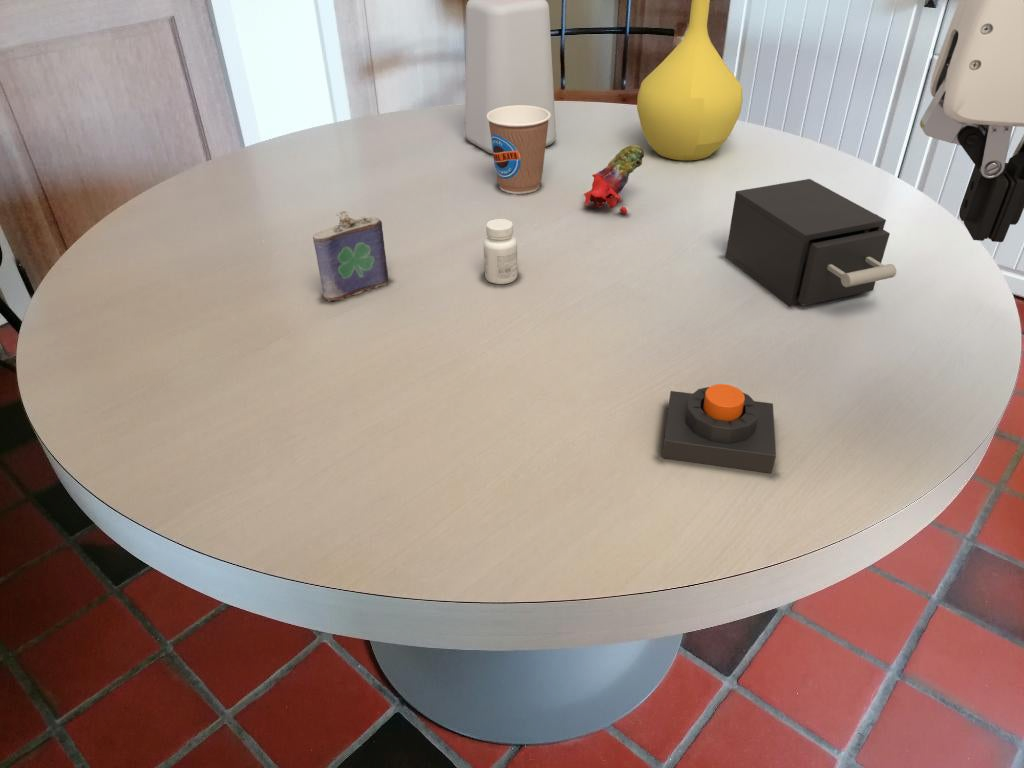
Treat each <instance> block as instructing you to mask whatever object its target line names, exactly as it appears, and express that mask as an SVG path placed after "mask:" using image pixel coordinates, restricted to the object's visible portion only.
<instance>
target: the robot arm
mask: <svg viewBox="0 0 1024 768" xmlns="http://www.w3.org/2000/svg"><path fill="white" fill-rule="evenodd" d="M950 21H951V22H950V23H949V26H948V29H947V32H946V35H945V36H944V40H943V43H942V45H941V48H940V51H939V53H938V57H937V59H936V62H935V66H934V69H933V73H932V75H931V80H930V87H929V91H930V95H931V97H933V98H932V100H931V101H930V102H929V104H928V106H927V109H926V110H925V111H924V113H923V116H922V117H921V119H920V121H919V126H920V129H921V130H922V132H923V133H924V135H925V136H927V137H930V138H933V139H936V140H940V141H942V142H946V143H949V144H955V145H957V146H961V148H962V149H963V150H964V152H965V153H966V155H967V156H968V157H969V159H970V160H971V161H972V163H973V164H974V167H973V169H972V172H971V175H970V178H969V181H968V184H967V186H966V190H965V192H964V195H963V198H962V200H961V203H960V208H959V212H958V214H959V215H958V216H959V219H960V220H961V222H963V225H964V226H965V228H966V230H967V231H968V233H969V235H970V237H971V240H973V241H979V242H983V241H985V240H987V239H988V240H990V241H991V242H993V243H1003V242H1004V241H1005V239H1006V237H1007V234H1008V231H1009V229H1010V226H1011V225H1012V226H1016V225H1017V224H1018V223H1019V221H1020V219H1021V217H1022V214H1023V211H1024V134H1023V135H1022V137H1021V139H1020V141H1019V142H1018V143H1017V146H1016V148H1015V150H1014V151H1013V153H1012V156H1011V157H1009V159H1008V162H1006V161H1007V156H1008V151H1009V148H1010V147H1009V146H1010V142H1011V138H1012V137H1011V136H1012V131H1013V127H1021V128H1024V0H958V3H957V5H956V7H955V10H954V12H953V15H952V18H951V20H950Z"/></svg>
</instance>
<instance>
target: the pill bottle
mask: <svg viewBox="0 0 1024 768" xmlns="http://www.w3.org/2000/svg"><path fill="white" fill-rule="evenodd" d="M485 227H486V232H485V233H486V236H487V237H485V239H484V241H483V261H484V265H483V266H484V277H485V279H486V281H487V282H489V283H492V284H495V285H507V284H510V283H513V282H514V281H515V280H516V279H517V278H518V274H519V273H518V268H519V267H518V240H517V239H516V238H515V236H513V235H514V223H513V222H512V221H511V220H510V219H505V218H493V219H491V220H489V221H487V223H486V225H485Z"/></svg>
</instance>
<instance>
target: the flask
mask: <svg viewBox="0 0 1024 768" xmlns="http://www.w3.org/2000/svg"><path fill="white" fill-rule="evenodd" d="M335 216H338V217H339V221H338V222H337V224H338V225H335V226H332V227H331V226H330V227H329V228H326V229H322V230H321V231H318V232H315V233H314V234H313V236H312V240H313V246H314V251H315V256H316V260H317V266H318V271H319V277H320V278H319V279H320V282H321V288H322V295H323V298H324V299H325V301H327V302H332V301H341V300H344V298H347V297H351V296H352V297H353V296H355V295H359V294H362V293H363V292H364V291H370V290H371V289H374V288H376V289H378V287H381V286H386V285H387V284H388V283H389V282H390V280H389V273H388V265H387V256H386V255H387V254H386V249H385V248H386V247H385V240H384V231H383V222H382V220H381V219H379V218H378V217H377V218H376V217H375V216H369V217H367V216H362V217H361V218H356V219H355V218H352V217H351V216H349V212H347V210H342V211H339V213H336V215H335Z"/></svg>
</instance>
